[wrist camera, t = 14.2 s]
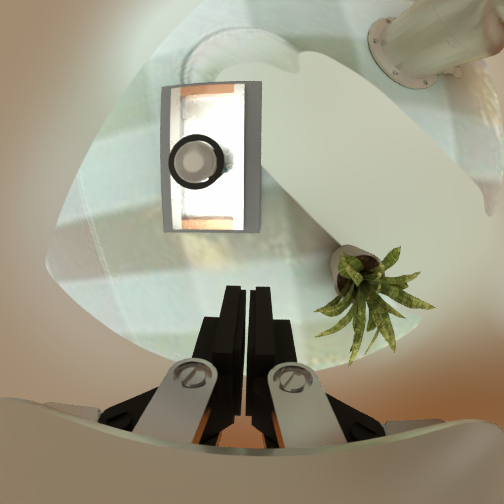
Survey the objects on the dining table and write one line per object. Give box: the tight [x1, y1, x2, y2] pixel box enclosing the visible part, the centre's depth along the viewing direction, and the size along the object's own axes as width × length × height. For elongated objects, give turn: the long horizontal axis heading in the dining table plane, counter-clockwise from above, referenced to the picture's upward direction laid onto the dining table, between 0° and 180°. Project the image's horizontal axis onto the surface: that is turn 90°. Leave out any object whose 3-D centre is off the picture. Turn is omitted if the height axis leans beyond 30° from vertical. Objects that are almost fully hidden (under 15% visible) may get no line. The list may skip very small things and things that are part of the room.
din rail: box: [170, 84, 245, 230], centre depth 32 cm, size 9×18×2 cm, turn 179°
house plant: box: [314, 245, 435, 365], centre depth 31 cm, size 14×14×16 cm
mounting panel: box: [160, 81, 262, 233], centre depth 33 cm, size 13×20×1 cm, turn 179°
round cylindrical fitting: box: [168, 134, 228, 190], centre depth 27 cm, size 7×5×10 cm
